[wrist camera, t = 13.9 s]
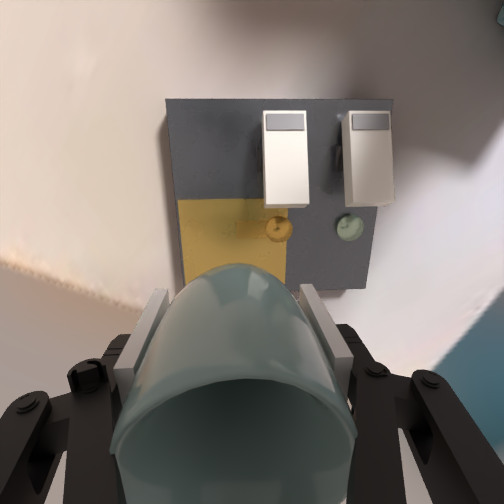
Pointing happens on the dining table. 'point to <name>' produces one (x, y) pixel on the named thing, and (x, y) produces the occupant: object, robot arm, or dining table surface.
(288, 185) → the rocker
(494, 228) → the dining table surface
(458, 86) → the dining table surface
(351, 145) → the rocker
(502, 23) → the flower pot
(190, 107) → the panel
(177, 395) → the cup
